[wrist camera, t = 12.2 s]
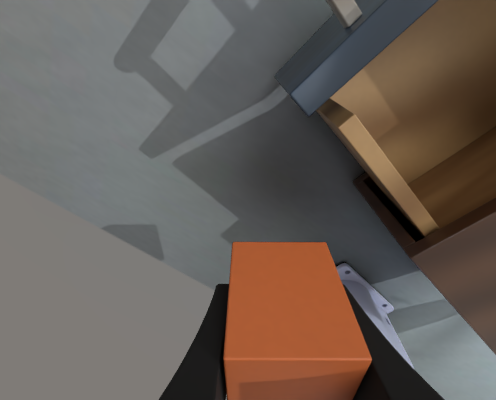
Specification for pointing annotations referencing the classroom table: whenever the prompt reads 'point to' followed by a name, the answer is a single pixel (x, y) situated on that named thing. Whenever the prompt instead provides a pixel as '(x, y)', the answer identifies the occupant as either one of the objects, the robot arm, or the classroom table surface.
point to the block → (290, 326)
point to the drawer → (408, 99)
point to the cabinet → (450, 257)
